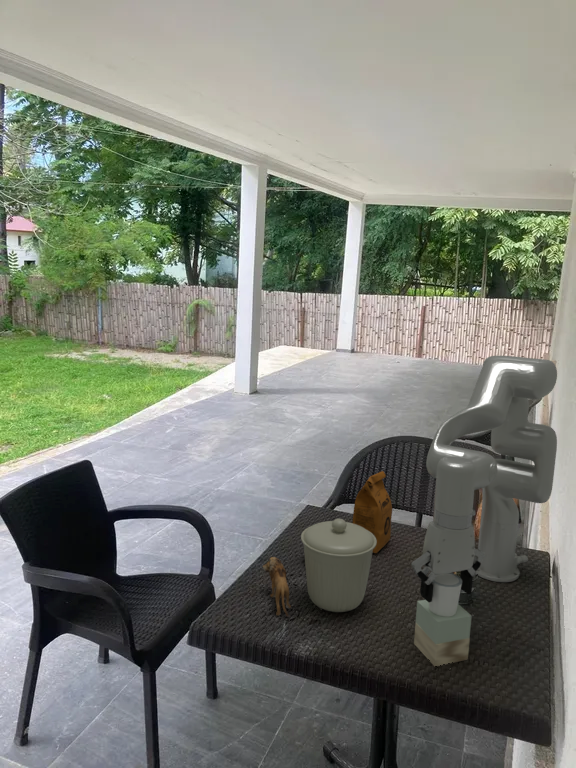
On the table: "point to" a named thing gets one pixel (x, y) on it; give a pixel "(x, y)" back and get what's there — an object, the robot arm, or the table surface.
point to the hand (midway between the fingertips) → (445, 594)
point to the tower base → (441, 648)
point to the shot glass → (445, 594)
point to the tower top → (443, 624)
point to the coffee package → (374, 510)
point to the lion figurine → (278, 583)
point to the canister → (337, 563)
